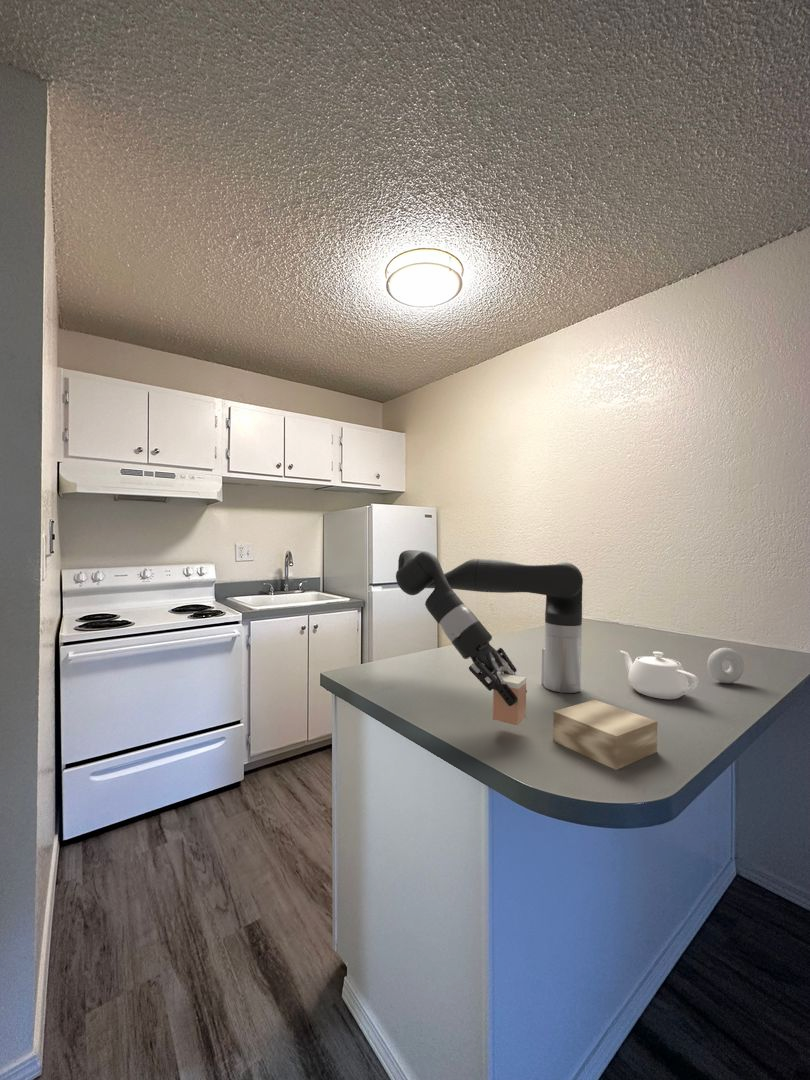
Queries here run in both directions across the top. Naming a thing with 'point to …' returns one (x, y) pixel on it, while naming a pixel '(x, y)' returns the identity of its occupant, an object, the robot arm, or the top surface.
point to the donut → (734, 669)
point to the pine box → (605, 733)
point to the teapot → (658, 676)
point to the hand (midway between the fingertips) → (518, 698)
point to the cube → (518, 709)
